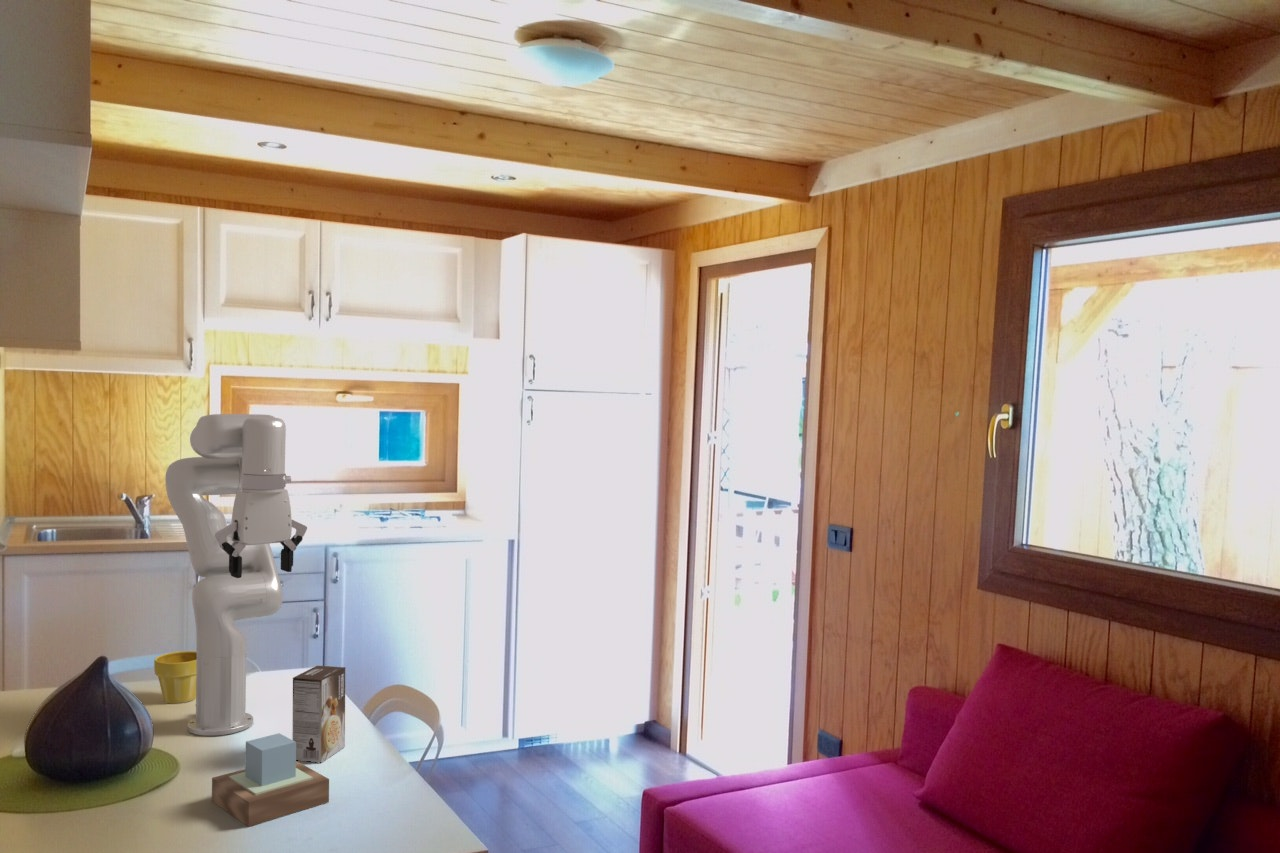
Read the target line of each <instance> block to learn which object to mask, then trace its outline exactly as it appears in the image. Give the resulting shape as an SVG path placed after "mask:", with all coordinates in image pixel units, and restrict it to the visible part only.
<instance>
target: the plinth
mask: <svg viewBox="0 0 1280 853" xmlns="http://www.w3.org/2000/svg"><path fill="white" fill-rule="evenodd" d="M211 801H212V803H214V804H215V805H217V806H218V807H219V808H221V809H223V810H224V811H225V812H227V813H228V814H230V815H231V816H232V817H233V818H235V819H237V820H238V821H239V822H241V823H242V824H244V825H245V826H247V827H248V828H249V827H253V826H256V825H260V824H263V823H266V822H270V821H272V820H276V819H279V818H282V817H285V816H289V815H293V814H294V813H298V812H299V813H300V812H301V811H304V810H308V809H311V808H315V807H318V806H321V804H322V805H324V804H327V802H328V803H329V802H330V778H328V777H326V776H324V775H323V774H321V773H319V772H318V771H316V770H313V769H311V768H310V767H308V766H306V765H305V764H304V763H301V762H300V761H296V777H293V778H290V779H286V780H283V781H279V782H276V783H272V784H269V785H265V786H260V785H259V784H257V783H255V782H254V781H252V780H250V779H249V778H247V777H246V776H245V768H244V769H240V770H236V771H233V772H228V773H225V774H222V775H217V776H214V777H211Z"/></svg>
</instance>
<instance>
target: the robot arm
mask: <svg viewBox="0 0 1280 853" xmlns="http://www.w3.org/2000/svg"><path fill="white" fill-rule="evenodd" d="M286 431H287V428H286V423H285V420H283V419H281V418H279V417H275V416H274V415H271V414H262V413H261V414H256V413H255V414H249V413H247V414H246V413H244V414H243V413H226V414H225V413H217V414H216V413H215V414H208V415H203V416H201V417H200V418H198V421H197V422H196V426H195V427H194V428H193V429H192V430H191V433H190V435H189V443H190V446H191V448H192V450H193V451H194V453H196V454H197V455H198V456H195V457H194V456H193V457H186V458H180V459H177V460H175V461H173V462H171V464H169V466H168V467H167V468H166V472H165V477H164V478H165V480H164V481H165V489H166V490H165V491H166V495H167V498H168V502H169V503H170V506H171V508H172V509H173V512H174V514H176V516H177V517H178V520H179V522H180V524H181V526H182V528H183V532H184V536H185V539H186V540H185V541H186V545H187V550H188V554H189V558H190V562H191V565H192V569H193V570H194V572H195V573H196V575H198V576H200V577H201V578H202V579H200V580H199V581H197V582H196V584H194V587H193V589H192V593H191V596H192V597H191V601H192V609H193V615H194V620H195V621H194V622H195V633H196V634H195V636H196V640H195V641H196V654H197V659H196V698H195V717H194V718H192V719H190V720H189V721H188V723H187V731H188V732H189V733H190V734H194V735H197V736H205V737H206V736H207V737H209V736H210V737H211V736H214V737H215V736H224V735H230V734H234V733H235V734H236V733H239V732H242V731H244V730H246V729H249V728H250V727H251V726H252V725H253V724H254V716H253V715H252V714H249V713H248V712H246V703H247V702H246V700H247V699H246V696H247V695H246V694H247V691H246V689H247V688H246V687H247V686H246V685H247V681H246V680H247V641H246V640H247V639H246V638H245V635H244V634H243V633H242V631H241V630H240V629H238V627H237V626H235V624H234V622H235V621H238V620H244V619H245V620H246V619H253V618H255V619H256V618H261V617H268V616H271V615H274V614H276V613H277V612H279V610H280V609H281V608H282V604H283V599H284V598H283V597H284V596H283V595H284V594H283V588H282V584H281V579H280V576H279V572H278V569H277V565H276V562H275V557H274V554H273V551H272V547H271V545H270V544H277V543H278V544H279V543H280V545H281V546H282V547H283V548H282V549H281V550H280V570H281V571H283V572H287V573H291V572H292V570H293V566H294V552H295V550H297V547H298V546H299V545H300V543H302V541H303V537H304V536H305V534H306V532H307V530H308V527H307V526H306V525H304V524H302V523H300V522H298V521H296V520H294V519H292V510H291V509H292V508H291V501H290V495H289V492H288V489H286V485H287V484H289V483H291V482H292V477H291V475H286V436H287V434H286ZM222 495H224V496H225V495H235V497H234V502H233V506H232V513H231V523H230V524H228V525H227V521H226V517H225V515H224V513H223V512H222V511H221V510H220V509H219V508H218V507H217V506H216V505H215V504H214V503H212V501H209V500H208V499H206V497H205V498H204V497H203V496H222ZM292 528H293V529H295V534H294V535H293V536H292V530H293V529H292Z"/></svg>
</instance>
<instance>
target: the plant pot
mask: <svg viewBox="0 0 1280 853" xmlns="http://www.w3.org/2000/svg"><path fill="white" fill-rule="evenodd" d="M196 659H197V654H196V651H195V650H184V651H183V650H182V651H173V652H167V653H164V654H160V655H158V656H156V657H155V658H154V662H153V664H154V665H153V667H154V670H153V671H154V675H156V677H158V682H159V686H160V690H161V694H162V699H163V702H164V703H167V704H174V705H175V704H184V703H188V702H191V701H193V700H196Z"/></svg>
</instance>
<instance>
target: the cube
mask: <svg viewBox="0 0 1280 853" xmlns="http://www.w3.org/2000/svg"><path fill="white" fill-rule="evenodd" d="M244 769H245V776H246V777H247V778H249V779H250V780H252V781H254V782H255V783H257V784H259V785H260V786H265V785H269V784H272V783H276V782H279V781H283V780H286V779H290V778H293V777H296V742H295V741H293V739H291V738H289V737H287V736H286V735H283V734H282V733H279V732H278V733H274V734H270V735H267V736H263V737H258V738H255V739H249V740H247V741H245V768H244Z"/></svg>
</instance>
